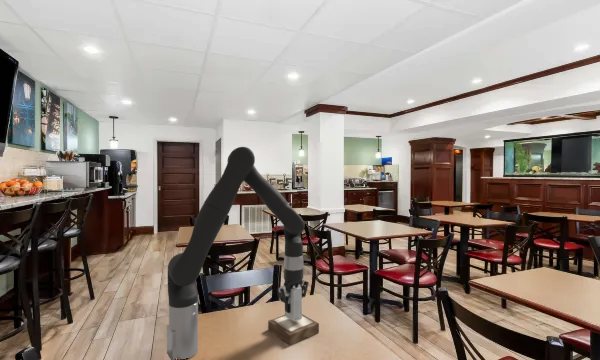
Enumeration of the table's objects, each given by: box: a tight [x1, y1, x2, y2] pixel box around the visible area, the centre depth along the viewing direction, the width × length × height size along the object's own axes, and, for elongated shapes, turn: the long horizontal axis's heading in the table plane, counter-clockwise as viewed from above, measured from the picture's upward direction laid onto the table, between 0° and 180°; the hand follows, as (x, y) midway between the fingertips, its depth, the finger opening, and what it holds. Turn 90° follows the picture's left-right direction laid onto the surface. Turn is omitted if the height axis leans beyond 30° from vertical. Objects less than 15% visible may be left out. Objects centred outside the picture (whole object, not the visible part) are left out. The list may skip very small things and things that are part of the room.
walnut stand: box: [267, 313, 320, 346], centre depth 119 cm, size 14×14×4 cm
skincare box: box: [284, 287, 303, 321], centre depth 119 cm, size 6×4×12 cm
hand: (293, 310), depth 119 cm, fingers closed on skincare box, 4 cm apart
